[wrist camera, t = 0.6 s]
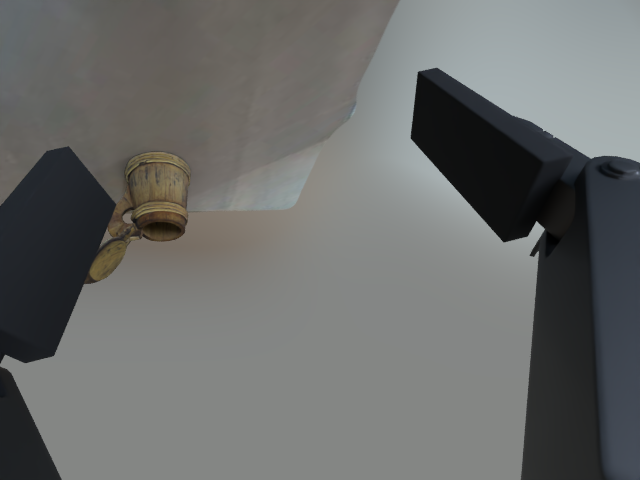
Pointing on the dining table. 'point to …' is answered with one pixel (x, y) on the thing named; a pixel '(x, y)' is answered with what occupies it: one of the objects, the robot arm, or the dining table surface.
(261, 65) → the dining table surface
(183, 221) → the wooden mug
